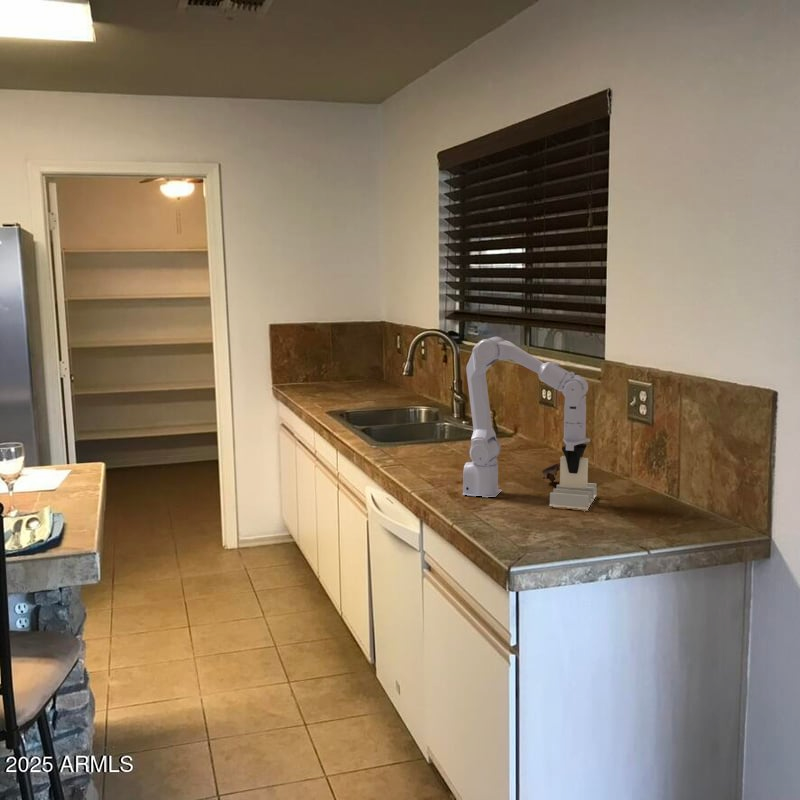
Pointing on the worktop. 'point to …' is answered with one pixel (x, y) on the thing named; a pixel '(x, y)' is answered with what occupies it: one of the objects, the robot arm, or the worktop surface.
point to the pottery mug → (551, 472)
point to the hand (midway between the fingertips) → (574, 471)
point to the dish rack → (573, 496)
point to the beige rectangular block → (572, 478)
